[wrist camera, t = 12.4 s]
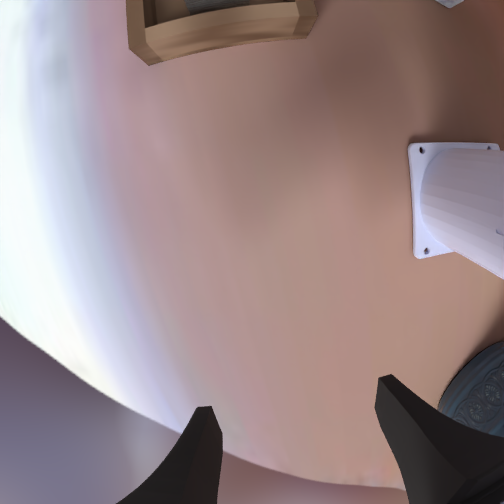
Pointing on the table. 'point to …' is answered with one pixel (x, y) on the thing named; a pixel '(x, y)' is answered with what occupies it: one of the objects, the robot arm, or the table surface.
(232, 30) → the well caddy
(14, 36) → the table surface
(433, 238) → the robot arm
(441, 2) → the medicine box
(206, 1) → the grey two-tone block
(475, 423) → the canister
